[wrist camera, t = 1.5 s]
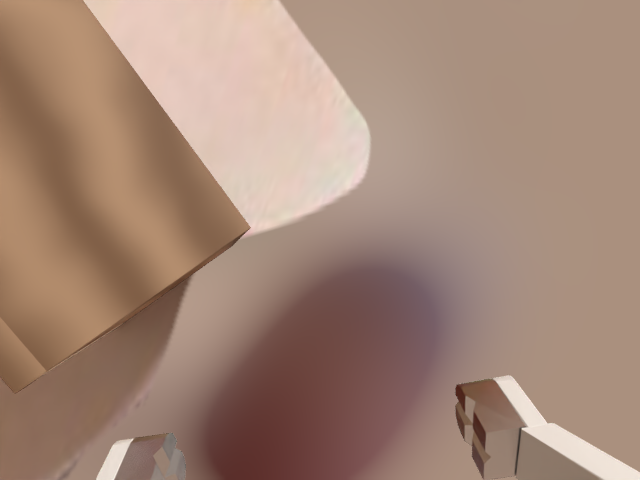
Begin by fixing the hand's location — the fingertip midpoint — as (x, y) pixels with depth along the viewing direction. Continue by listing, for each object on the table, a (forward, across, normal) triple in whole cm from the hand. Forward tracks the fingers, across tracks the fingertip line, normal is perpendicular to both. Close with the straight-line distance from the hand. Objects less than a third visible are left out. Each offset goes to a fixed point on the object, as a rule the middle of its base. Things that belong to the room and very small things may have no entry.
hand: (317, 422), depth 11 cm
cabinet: (+35, +22, 0) cm, 41 cm away
